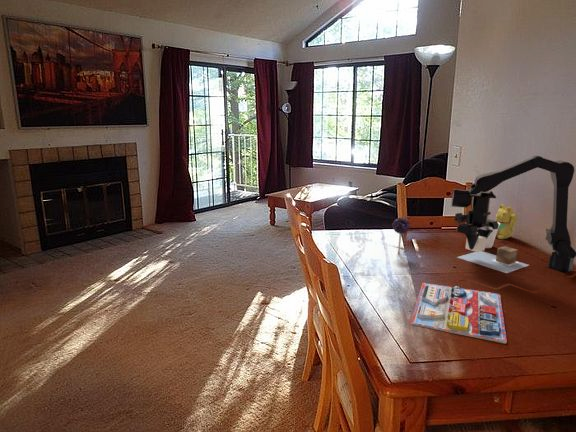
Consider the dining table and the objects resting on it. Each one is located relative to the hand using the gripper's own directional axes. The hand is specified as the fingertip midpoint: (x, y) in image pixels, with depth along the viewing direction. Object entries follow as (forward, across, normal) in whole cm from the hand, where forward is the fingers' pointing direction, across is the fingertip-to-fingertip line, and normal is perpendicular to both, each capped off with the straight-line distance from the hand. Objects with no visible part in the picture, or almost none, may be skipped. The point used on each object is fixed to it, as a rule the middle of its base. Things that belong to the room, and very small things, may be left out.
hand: (475, 248), depth 159 cm
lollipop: (+5, +19, -21) cm, 29 cm away
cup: (+5, -20, -8) cm, 22 cm away
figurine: (+5, -42, -12) cm, 45 cm away
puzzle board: (+6, +43, +22) cm, 49 cm away
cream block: (0, 0, 0) cm, 0 cm away
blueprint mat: (+5, -4, +5) cm, 8 cm away
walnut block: (+4, -8, +8) cm, 12 cm away
